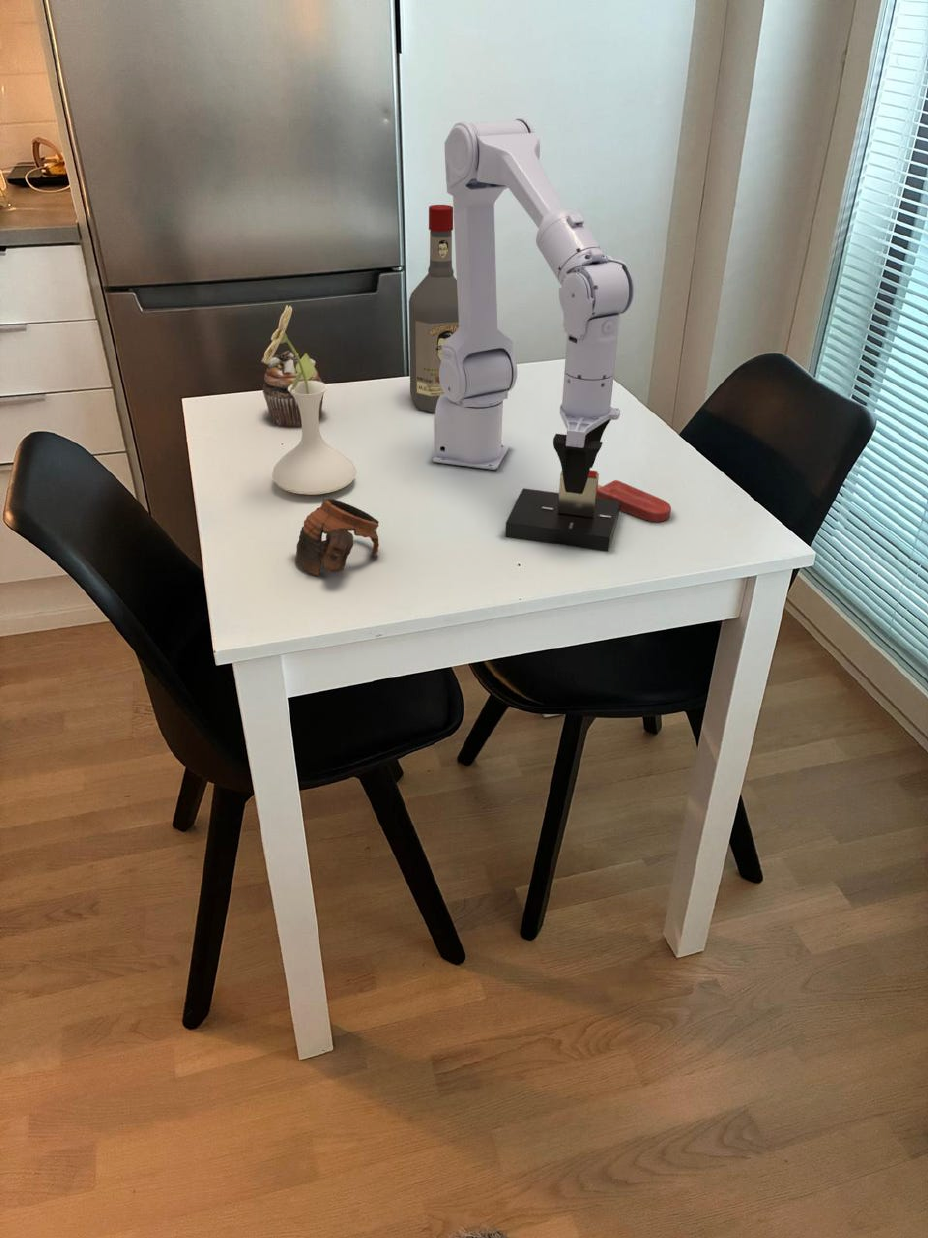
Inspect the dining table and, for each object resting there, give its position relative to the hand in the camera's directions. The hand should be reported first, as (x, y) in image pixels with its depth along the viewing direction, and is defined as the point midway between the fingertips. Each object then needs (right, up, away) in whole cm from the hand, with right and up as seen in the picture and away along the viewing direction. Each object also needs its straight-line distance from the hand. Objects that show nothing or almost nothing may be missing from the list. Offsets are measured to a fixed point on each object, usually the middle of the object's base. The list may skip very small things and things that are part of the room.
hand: (579, 478), depth 118 cm
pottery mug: (-29, -11, -4) cm, 32 cm away
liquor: (-18, +18, +39) cm, 46 cm away
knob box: (-2, -5, +4) cm, 7 cm away
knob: (0, -4, +3) cm, 5 cm away
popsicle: (+7, -2, +10) cm, 12 cm away
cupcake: (-41, +14, +33) cm, 54 cm away
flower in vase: (-35, +1, +12) cm, 37 cm away
